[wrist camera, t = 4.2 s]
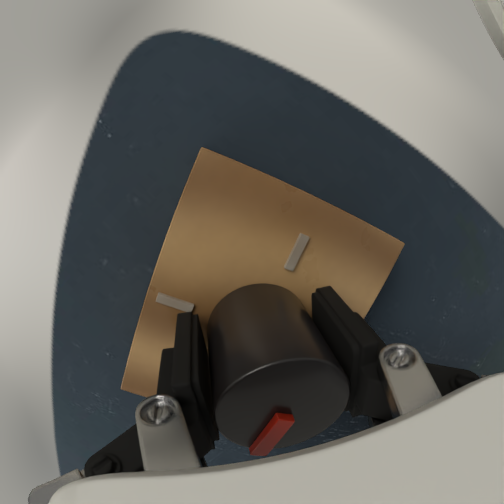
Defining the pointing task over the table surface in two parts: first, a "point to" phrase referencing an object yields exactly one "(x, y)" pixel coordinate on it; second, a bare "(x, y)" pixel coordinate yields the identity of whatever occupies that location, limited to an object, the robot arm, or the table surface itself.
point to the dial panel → (251, 254)
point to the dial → (271, 370)
